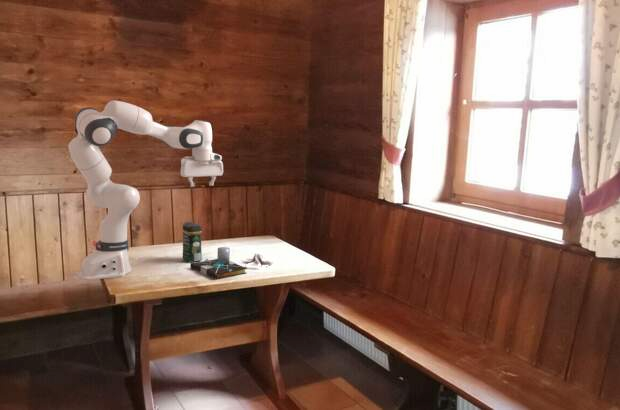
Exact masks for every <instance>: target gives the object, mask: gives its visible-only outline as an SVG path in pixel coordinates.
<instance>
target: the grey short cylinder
mask: <svg viewBox="0 0 620 410" xmlns="http://www.w3.org/2000/svg"><path fill="white" fill-rule="evenodd" d="M230 250H231V249H230V247H226V246H222V247H218V248H217V259H218V260H217V262H220V263H221V264H228V263H229V261H230V258H231V257H230V254H231V253H230Z"/></svg>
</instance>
